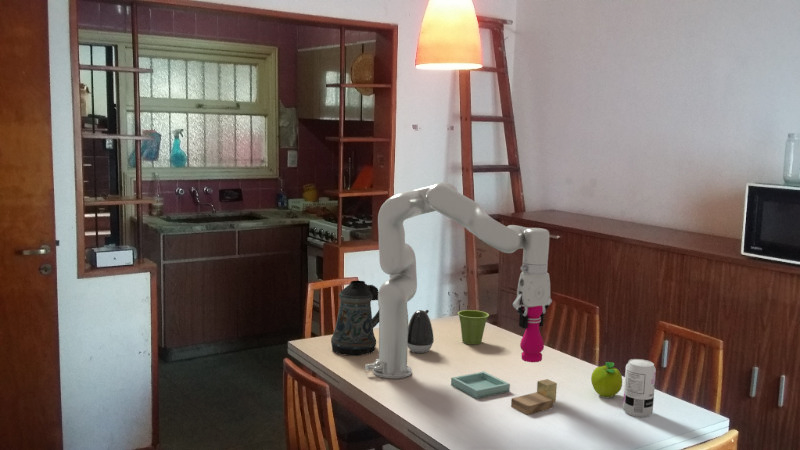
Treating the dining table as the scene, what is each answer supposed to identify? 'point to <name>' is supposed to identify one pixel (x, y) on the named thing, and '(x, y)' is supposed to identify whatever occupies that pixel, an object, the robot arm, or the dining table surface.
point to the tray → (480, 384)
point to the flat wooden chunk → (532, 403)
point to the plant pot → (472, 325)
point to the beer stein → (355, 320)
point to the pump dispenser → (420, 332)
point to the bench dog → (547, 389)
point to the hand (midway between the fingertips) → (530, 325)
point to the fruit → (606, 380)
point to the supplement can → (639, 388)
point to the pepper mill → (532, 336)
